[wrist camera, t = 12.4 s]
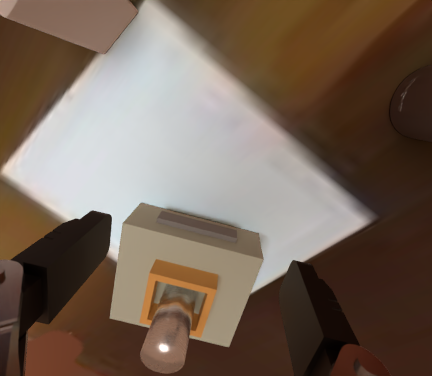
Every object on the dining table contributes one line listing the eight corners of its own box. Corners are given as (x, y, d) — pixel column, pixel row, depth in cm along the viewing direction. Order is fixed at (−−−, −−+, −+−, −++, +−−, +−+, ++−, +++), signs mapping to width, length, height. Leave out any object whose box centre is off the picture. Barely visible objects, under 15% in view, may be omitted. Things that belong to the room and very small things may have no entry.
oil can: (168, 273, 35) (143, 336, 26) (201, 282, 35) (189, 348, 26) (159, 309, 38) (134, 378, 28) (190, 317, 38) (175, 389, 28)
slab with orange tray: (259, 229, 40) (268, 268, 30) (229, 312, 46) (228, 366, 37) (141, 198, 39) (113, 229, 30) (127, 286, 45) (100, 335, 36)
